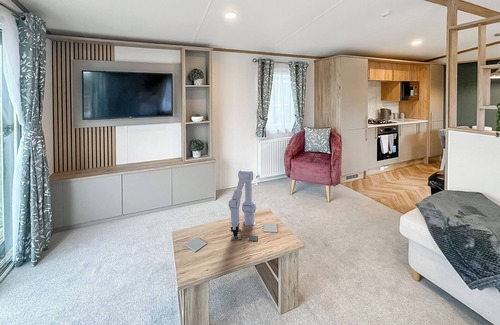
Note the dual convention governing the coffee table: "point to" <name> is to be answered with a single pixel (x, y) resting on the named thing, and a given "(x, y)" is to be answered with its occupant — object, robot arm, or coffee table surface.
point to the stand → (236, 237)
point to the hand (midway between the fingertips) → (235, 234)
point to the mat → (253, 238)
